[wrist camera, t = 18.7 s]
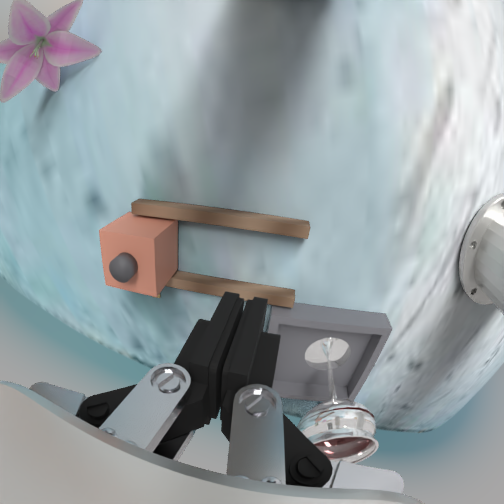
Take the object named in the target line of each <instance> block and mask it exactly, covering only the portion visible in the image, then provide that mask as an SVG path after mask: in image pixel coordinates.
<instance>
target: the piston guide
mask: <svg viewBox="0 0 504 504" xmlns="http://www.w3.org/2000/svg"><path fill="white" fill-rule="evenodd" d="M131 205H132V214H136V215H144V216H152V217H160V218H167V219H175V220H182V221H190V222H197V223H205V224H212V225H219V226H226V227H233V228H240V229H246V230H253V231H260V232H267V233H273V234H280V235H286V236H292V237H299V238H305V239H308V236H309V231H310V224H309V221H305V220H298V219H292V218H286V217H279V216H273V215H266V214H259V213H252V212H245V211H238V210H231V209H223V208H216V207H208V206H200V205H192V204H183V203H175V202H166V201H156V200H147V199H138V200H136V201H134V202H132V203H131ZM165 286H168V287H173V288H178V289H183V290H188V291H194V292H199V293H204V294H210V295H216V296H221V297H223V295H224V293H225V291H227V292H232V293H238V294H239V295H240V298H244V300H245V301H247V300H248V299H250V300H253V298H254V297H259V298H265V299H268V302H267V304H270V305H277V306H284V307H290V308H293V305H294V301H295V290H293V289H287V288H280V287H273V286H267V285H260V284H254V283H248V282H242V281H235V280H229V279H223V278H217V277H212V276H206V275H200V274H194V273H189V272H183V271H178V270H176V272H175V273H174V274H173V276H172V277H171V279H170V280H169V281H168V283H167V284H166V285H165ZM153 297H154V296H153ZM157 298H160V294H159V295H158V296H157Z"/></svg>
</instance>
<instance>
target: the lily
mask: <svg viewBox="0 0 504 504" xmlns="http://www.w3.org/2000/svg"><path fill="white" fill-rule="evenodd" d="M82 3H83V0H75V1H73V2H71V3H69V4H67V5H65V6H63V7H62V8H60V9H58V10H57V11H55V12H54V13H52V14H51V15H49V16H48V17H47V18H46V17H45V16H44V15H43V14H42V13H41V12H40V11H38V10H37V9H36V8H35V7H34V6H33V5H31V4H30V3H29V2H28V1H26V0H13V2H12V5H11V9H10V15H9V25H8V34H9V38H8V39H7V40H4V41H2V42H0V63H4V64H7V65H6V67H5V70H4V73H3V77H2V82H1V88H0V101H1V102H6V101H8V100H10V99H11V98H13V97H14V96H16V95H17V94H18V93H20V92H21V91H22V90H23V89H25V88H26V87H27V86H28V85H30V83H31V82H32V81H33V80H34V79H36V80H37V81H38V82H39V83H40V84H42V85H43V86H45V87H46V88H48V89H49V90H51V91H54V92H57V91H58V90H59V84H60V67H63V66H69V65H73V64H76V63H79V62H83V61H86V60H89V59H91V58H94V57H96V56H98V55H99V54H100V53H101V52H102V51H101V49H100V48H99V47H97V46H96V45H94V44H92V43H90V42H88V41H86V40H84V39H82V38H80V37H79V36H77V35H75V34H72V33H70V32H68V31H69V30H70V28H71V26H72V25H73V23H74V21H75V19H76V17H77V15H78V13H79V10H80V8H81V6H82Z"/></svg>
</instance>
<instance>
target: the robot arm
mask: <svg viewBox="0 0 504 504" xmlns="http://www.w3.org/2000/svg"><path fill="white" fill-rule="evenodd" d="M459 277H460V281H461V285H462V287H463V289H464V291H465V292H466V294H467V295H468V296H469V298H471V299H472V300H473V301H474V302H476V303H478V304H483V305H488V304H493V303H494V304H495V305H496V307H497V308H498V309H499V310H500V311H501V312H502V314H503V315H504V194H499V195H497V196H495V197H493V198H492V199H490V200H489V201H488V202H487V203H485V204H484V206H483V207H482V208H481V209H480V210H479V211H478V213H477V214H476V216H475V217H474V219H473V220H472V222H471V224H470V226H469V228H468V230H467V233H466V235H465V238H464V241H463V244H462V248H461V253H460V260H459ZM267 302H268V299H265V298H259V297H254V298H253V300H250V299H248V300H247V303H246V306H245V308H244V311H243V306H244V298H240V295H239V294H238V293H232V292H227V291H225V293H224V295H223V297H222V299H221V301H220V303H219V305H218V306H217V308H216V310H215V312H214V314H213V316H212V318H211V320H210V321H207V320H203V319H199V320H198V322H197V323H196V325H195V327H194V329H193V330H192V332H191V334H190V336H189V337H188V339H187V341H186V343H185V345H184V346H183V348H182V350H181V352H180V354H179V355H178V357H177V359H176V361H175V363H174V364H171V363H165V364H159V365H157V366H155V367H153V368H152V369H151V370H150V371H149V372H148V373H147V374H146V375H145V376H144V378H143V379H142V380H141V381H140V382H139V383H138V384H136V385H132V386H128V387H125V388H121V389H117V390H113V391H110V392H105V393H101V394H97V395H93V396H90V397H85V395H84V394H83V393H79V392H75V391H72V390H68V389H65V388H61V387H58V386H55V385H52V384H49V383H46V382H38V383H35V384H34V385H32V386H31V387H30V388H29V389H28V388H26V387H24V386H21V385H19V384H15V383H12V382H8V381H1V380H0V504H425V503H423V502H422V501H420V500H418V499H415V498H413V497H411V496H407V495H404V494H403V490H404V481H403V479H402V477H401V476H400V475H399V474H398V473H397V472H394V471H392V470H385V469H380V468H373V467H368V466H363V465H358V464H353V463H349V462H344V461H340V462H339V463H338V462H334V461H330V460H329V459H328V457H327V456H326V455H325V454H324V453H323V452H322V451H320V450H319V449H318V448H317V447H316V446H315V445H314V444H313V443H312V442H311V441H310V440H309V439H308V438H307V437H306V436H305V435H304V434H303V433H302V432H301V431H300V430H299V429H298V428H297V427H296V426H295V425H294V424H293V423H292V422H291V421H290V420H289V419H288V418H287V417H286V416H285V415H284V414H283V407H282V400H281V397H280V396H279V394H278V393H277V392H276V391H275V390H274V389H272V386H273V380H274V374H275V368H276V363H277V356H278V350H279V344H280V338H281V335H278V334H272V333H267V332H263V327H264V321H265V315H266V308H267ZM220 407H221V412H220V420H222V428H221V431H222V433H223V434H224V435H225V436H226V438H227V439H228V441H229V442H230V444H229V454H228V464H227V475H225V474H221V473H217V472H213V471H209V470H205V469H201V468H198V467H194V466H190V465H187V464H184V463H181V462H178V459H179V458H180V456H181V455H182V453H183V451H184V450H185V448H186V447H187V445H188V444H189V442H190V440H191V439H192V437H193V435H194V433H195V430H196V429H199V428H201V427H204V424H207V425H209V423H210V420H211V418H214V419H216V418H217V416H218V413H219V410H220Z"/></svg>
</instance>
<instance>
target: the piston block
mask: <svg viewBox="0 0 504 504" xmlns="http://www.w3.org/2000/svg"><path fill="white" fill-rule="evenodd" d="M99 234H100V244H101V253H102V262H103V269H104V276H105V282H106V285H108V286H112V287H116V288H120V289H124V290H128V291H132V292H137V293H141V294H145V295H150V296H154V297H157V296H158V295H159V294H160V292H161V291H162V289H163V288H164V287H165V285H166V284H167V283H168V281H169V280H170V279H171V277H172V276H173V274H174V273H175V272H176V270H177V269H178V220H175V219H167V218H160V217H152V216H144V215H136V214H132V212H128V213H127V214H125V215H123V216H121V217H120V218H118V219H116V220H115V221H113V222H111V223H110V224H108V225H107V226H105V227H103V228H102V229H100V230H99Z"/></svg>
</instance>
